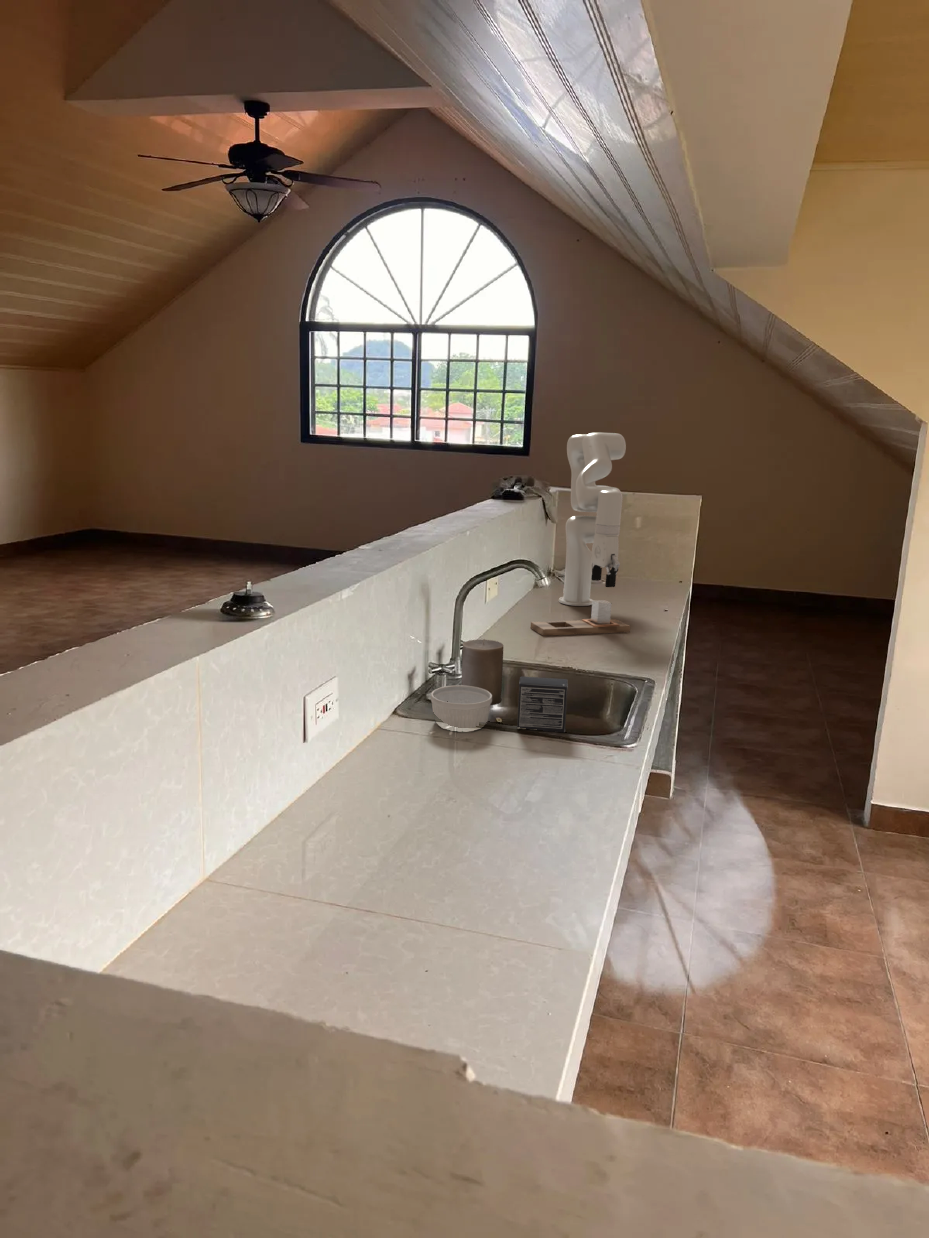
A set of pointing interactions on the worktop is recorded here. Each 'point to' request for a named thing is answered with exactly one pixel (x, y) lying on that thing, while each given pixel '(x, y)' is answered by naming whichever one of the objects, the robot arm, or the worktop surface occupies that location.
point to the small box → (542, 703)
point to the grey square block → (601, 612)
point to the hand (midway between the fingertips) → (603, 583)
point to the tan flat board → (578, 627)
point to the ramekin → (461, 705)
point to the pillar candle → (483, 666)
